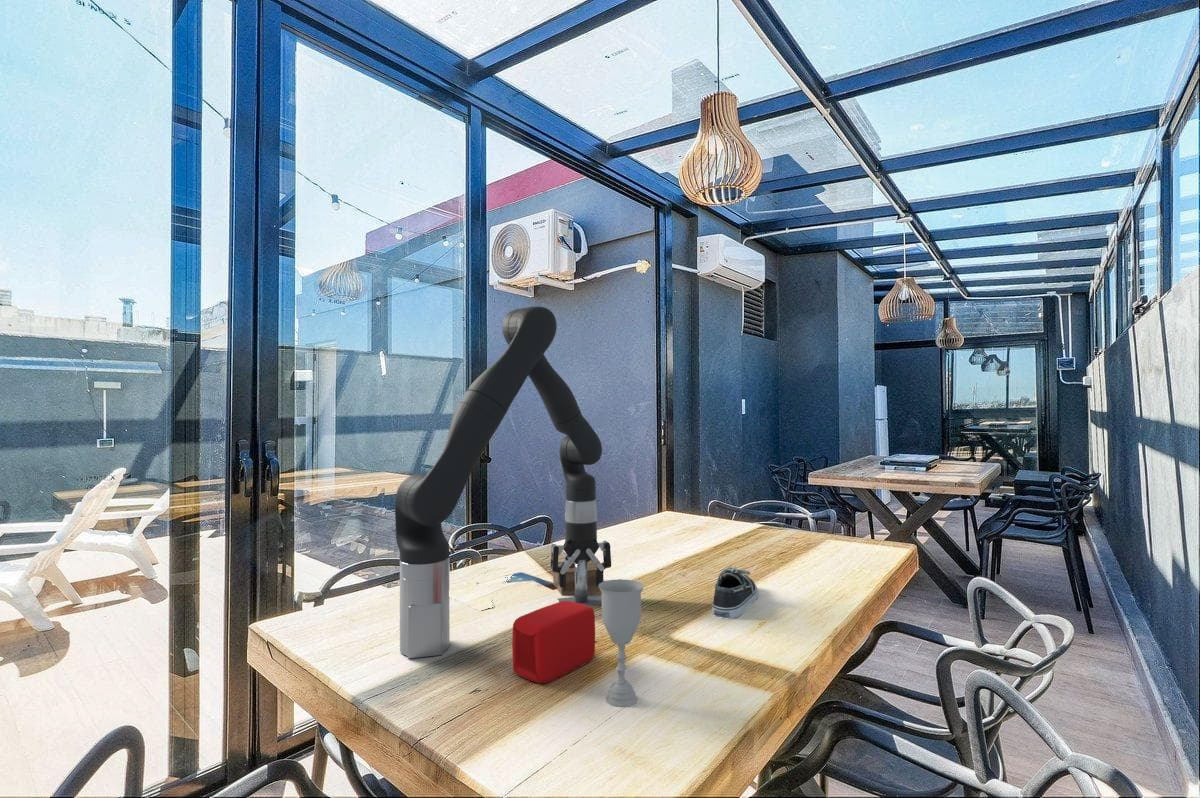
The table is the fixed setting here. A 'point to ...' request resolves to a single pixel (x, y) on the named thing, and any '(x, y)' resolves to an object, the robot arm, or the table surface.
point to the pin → (581, 582)
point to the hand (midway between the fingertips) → (581, 587)
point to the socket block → (571, 579)
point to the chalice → (621, 630)
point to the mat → (591, 601)
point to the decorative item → (553, 641)
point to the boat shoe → (733, 593)
